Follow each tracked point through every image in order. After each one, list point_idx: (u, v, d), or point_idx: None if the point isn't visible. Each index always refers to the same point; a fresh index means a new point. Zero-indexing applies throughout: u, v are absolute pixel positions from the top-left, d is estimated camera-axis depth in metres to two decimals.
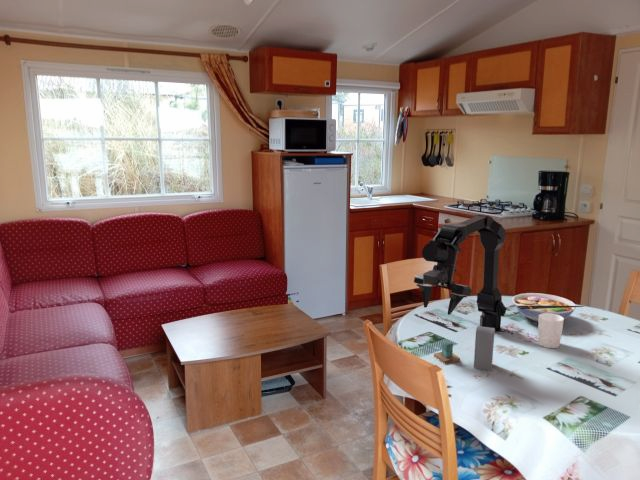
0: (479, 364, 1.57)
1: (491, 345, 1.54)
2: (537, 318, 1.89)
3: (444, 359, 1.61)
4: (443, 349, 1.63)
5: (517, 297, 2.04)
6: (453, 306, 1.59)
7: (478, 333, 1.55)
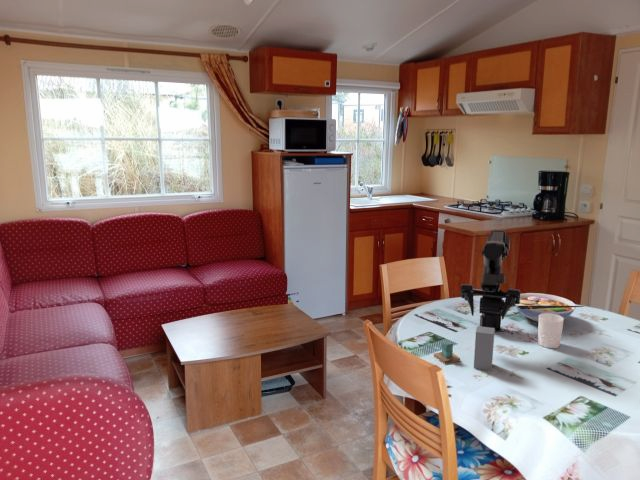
0: (479, 364, 1.57)
1: (491, 345, 1.54)
2: (537, 318, 1.89)
3: (444, 359, 1.61)
4: (443, 349, 1.63)
5: None
6: (506, 311, 1.63)
7: (478, 333, 1.55)
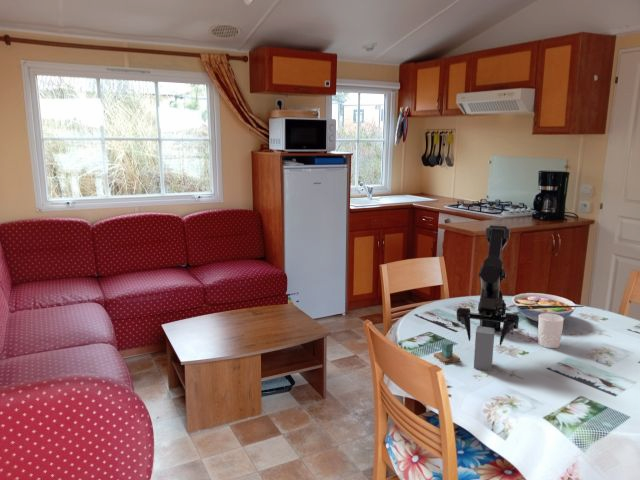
0: (479, 364, 1.57)
1: (491, 345, 1.54)
2: (537, 318, 1.89)
3: (444, 359, 1.61)
4: (443, 349, 1.63)
5: (517, 297, 2.04)
6: (504, 336, 1.57)
7: (478, 333, 1.55)
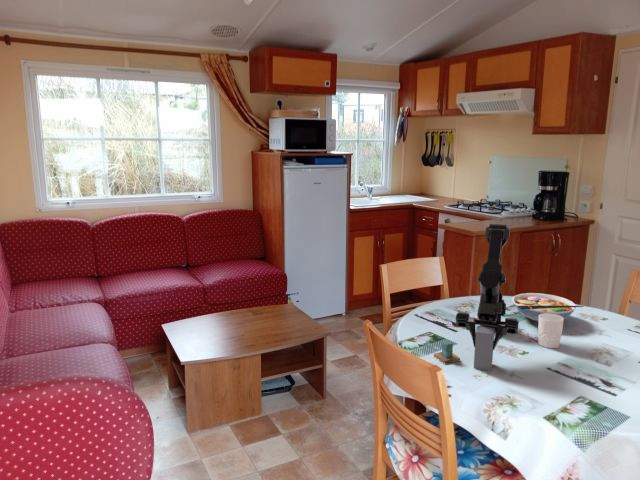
0: (479, 364, 1.57)
1: (491, 345, 1.54)
2: (537, 318, 1.89)
3: (444, 359, 1.61)
4: (443, 349, 1.63)
5: (517, 297, 2.04)
6: (497, 341, 1.56)
7: (478, 333, 1.55)
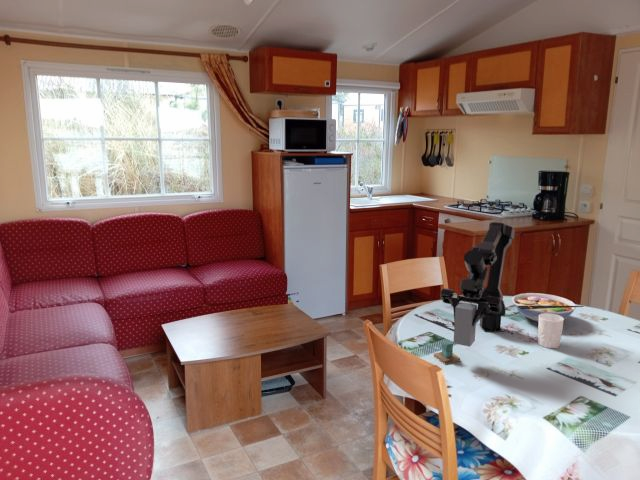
0: (458, 339, 1.58)
1: (470, 321, 1.55)
2: (537, 318, 1.89)
3: (444, 359, 1.61)
4: (443, 349, 1.63)
5: (517, 297, 2.04)
6: (478, 317, 1.56)
7: (457, 308, 1.56)
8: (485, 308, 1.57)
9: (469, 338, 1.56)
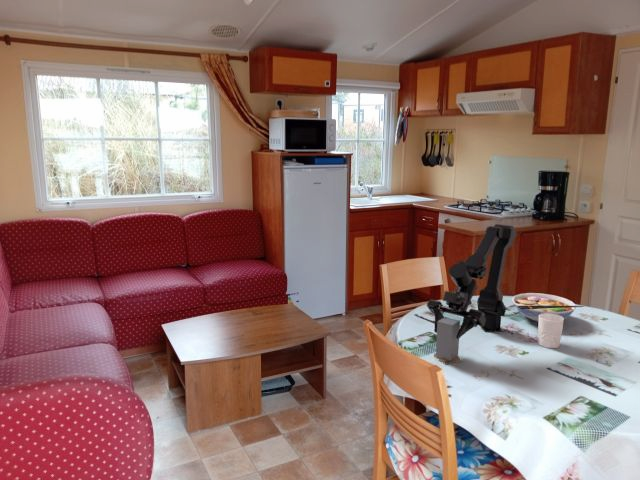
0: (440, 353, 1.62)
1: (450, 336, 1.59)
2: (537, 318, 1.89)
3: (444, 359, 1.61)
4: None
5: (517, 297, 2.03)
6: (463, 331, 1.59)
7: (439, 323, 1.61)
8: (471, 322, 1.59)
9: (450, 352, 1.60)
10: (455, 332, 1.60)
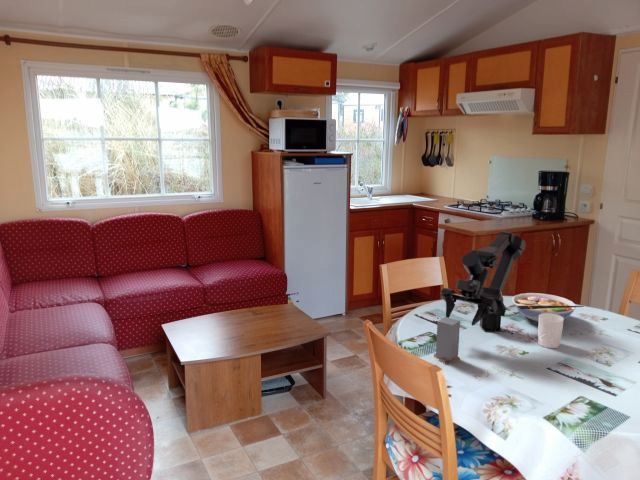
0: (440, 353, 1.62)
1: (450, 336, 1.59)
2: (537, 318, 1.89)
3: (444, 359, 1.61)
4: None
5: (517, 297, 2.03)
6: (478, 318, 1.65)
7: (439, 323, 1.61)
8: (486, 309, 1.65)
9: (450, 352, 1.60)
10: (455, 332, 1.60)
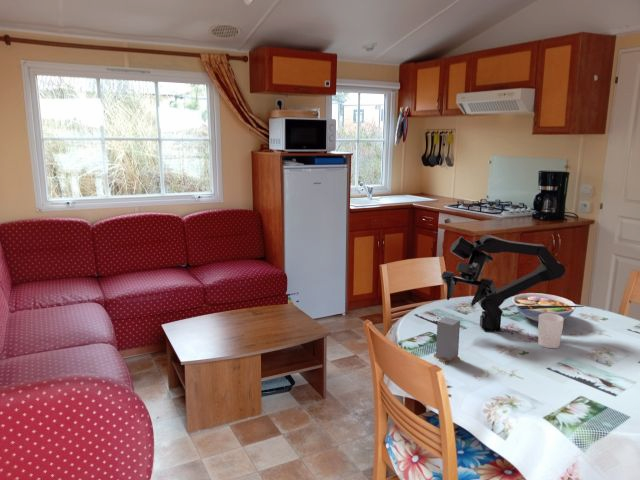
0: (440, 353, 1.62)
1: (450, 336, 1.59)
2: (537, 318, 1.89)
3: (444, 359, 1.61)
4: None
5: (517, 297, 2.04)
6: (477, 298, 1.74)
7: (439, 323, 1.61)
8: (484, 290, 1.75)
9: (450, 352, 1.60)
10: (455, 332, 1.60)
